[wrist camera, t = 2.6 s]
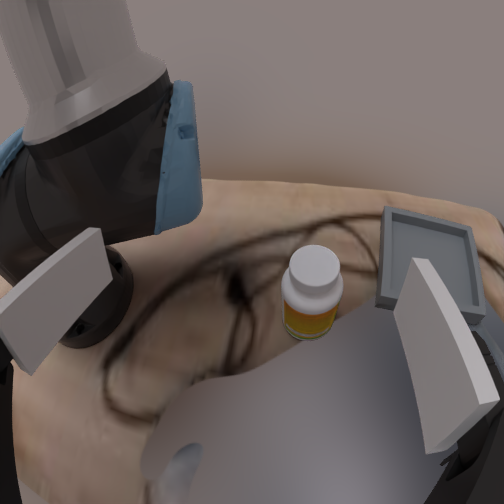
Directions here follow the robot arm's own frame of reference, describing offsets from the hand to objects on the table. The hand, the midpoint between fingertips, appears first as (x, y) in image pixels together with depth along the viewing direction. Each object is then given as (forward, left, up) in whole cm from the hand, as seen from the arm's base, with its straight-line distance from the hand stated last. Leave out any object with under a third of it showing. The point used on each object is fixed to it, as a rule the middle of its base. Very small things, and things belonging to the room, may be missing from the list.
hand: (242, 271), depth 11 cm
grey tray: (+16, +17, -18) cm, 30 cm away
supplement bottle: (+2, +7, -19) cm, 20 cm away
